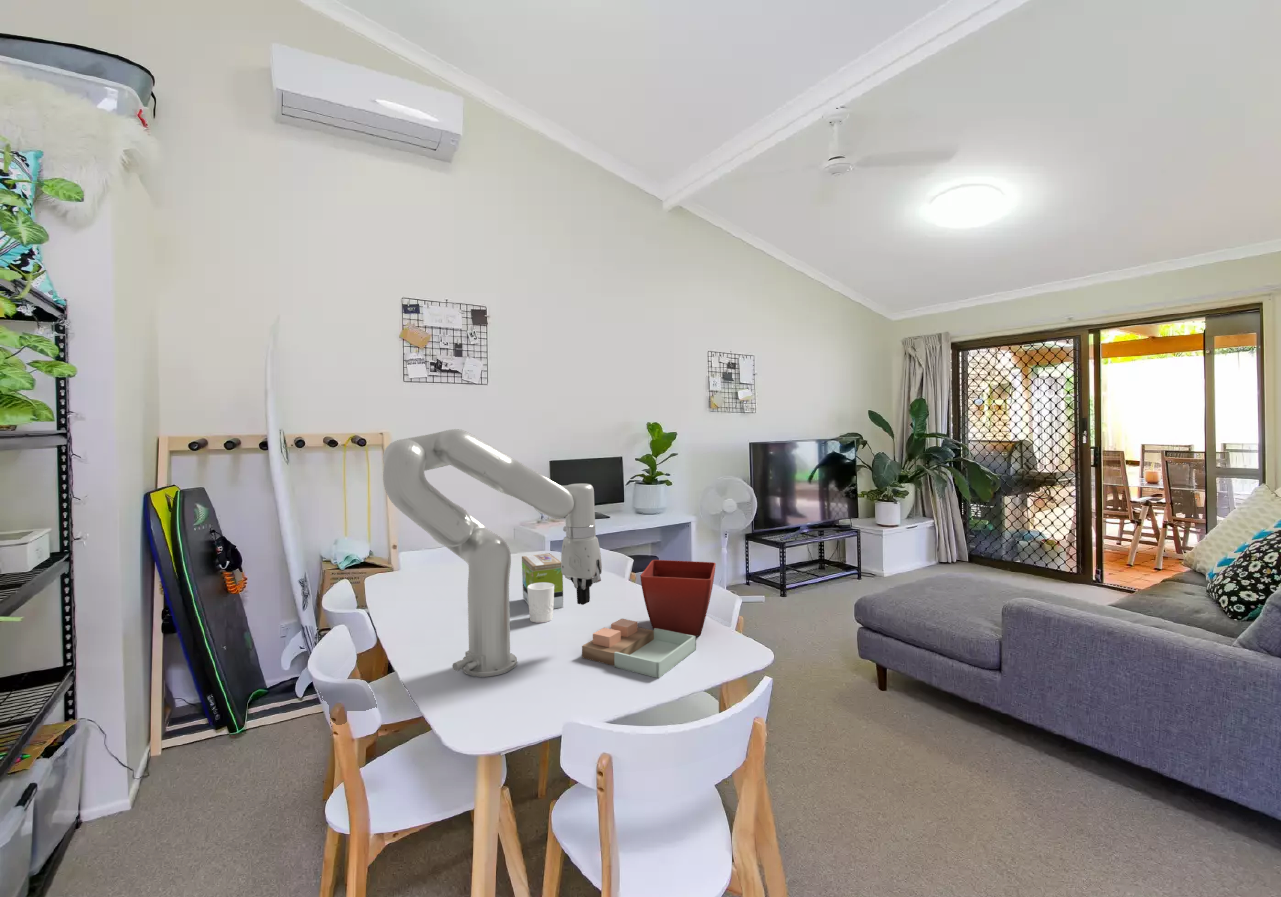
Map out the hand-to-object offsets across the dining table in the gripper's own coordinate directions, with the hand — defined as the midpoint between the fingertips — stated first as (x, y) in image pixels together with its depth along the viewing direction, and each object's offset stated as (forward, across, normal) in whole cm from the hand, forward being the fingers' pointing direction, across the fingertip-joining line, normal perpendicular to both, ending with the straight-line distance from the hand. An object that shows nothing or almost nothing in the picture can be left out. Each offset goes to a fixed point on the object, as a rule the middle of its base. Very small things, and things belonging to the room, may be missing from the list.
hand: (583, 602), depth 146 cm
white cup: (+12, -25, +11) cm, 29 cm away
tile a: (+9, +8, -1) cm, 12 cm away
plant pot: (+13, +14, +25) cm, 32 cm away
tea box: (+12, -35, +23) cm, 43 cm away
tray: (+12, +19, +3) cm, 23 cm away
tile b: (+9, +8, +7) cm, 14 cm away
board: (+12, +8, +3) cm, 15 cm away
